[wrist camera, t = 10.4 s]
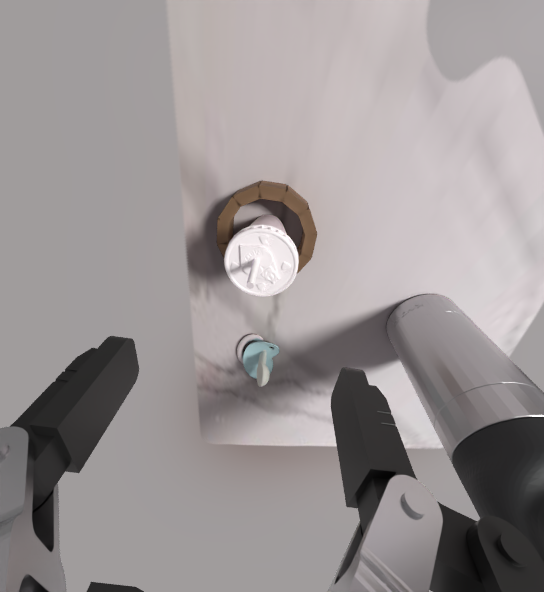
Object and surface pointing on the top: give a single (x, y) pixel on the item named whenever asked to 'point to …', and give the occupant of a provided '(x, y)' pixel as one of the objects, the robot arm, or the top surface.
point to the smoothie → (262, 258)
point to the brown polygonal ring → (277, 194)
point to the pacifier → (257, 357)
